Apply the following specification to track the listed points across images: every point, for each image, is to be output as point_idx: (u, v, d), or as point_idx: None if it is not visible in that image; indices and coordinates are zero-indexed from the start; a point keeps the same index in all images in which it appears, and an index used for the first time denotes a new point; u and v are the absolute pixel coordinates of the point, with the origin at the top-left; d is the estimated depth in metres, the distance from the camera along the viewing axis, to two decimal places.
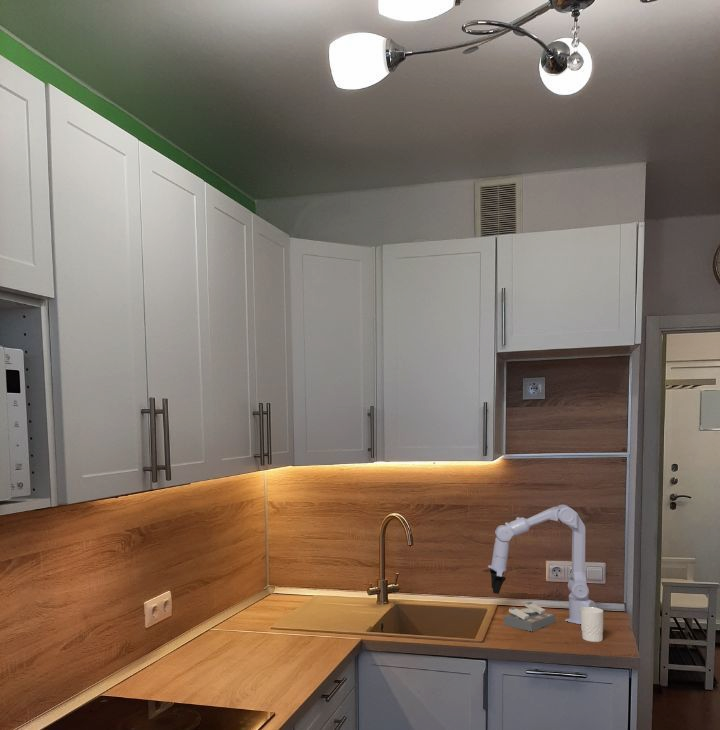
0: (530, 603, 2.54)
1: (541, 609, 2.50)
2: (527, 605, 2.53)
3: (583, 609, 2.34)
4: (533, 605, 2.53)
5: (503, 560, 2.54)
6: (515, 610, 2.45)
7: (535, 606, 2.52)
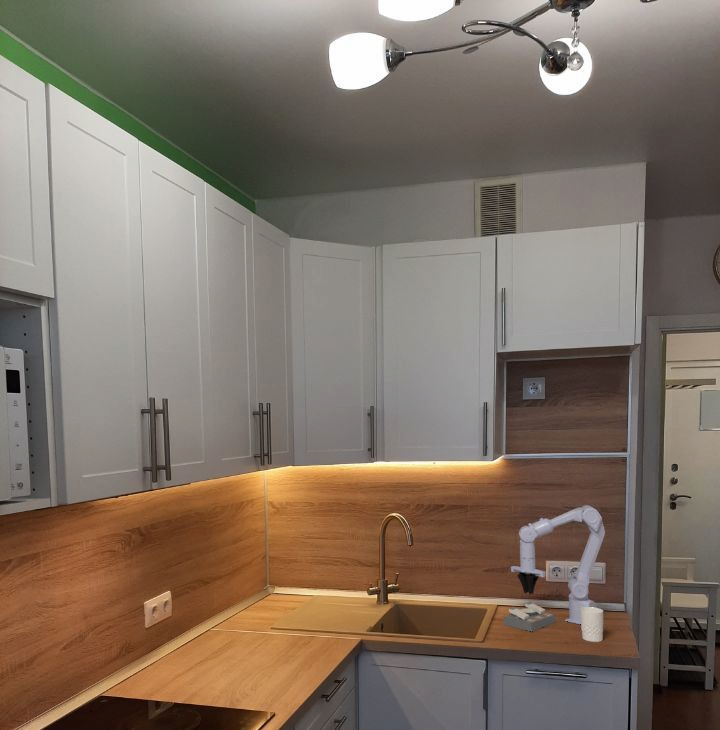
0: (530, 603, 2.54)
1: (541, 609, 2.50)
2: (527, 605, 2.53)
3: (583, 609, 2.34)
4: (533, 605, 2.53)
5: None
6: (515, 610, 2.45)
7: (535, 606, 2.52)
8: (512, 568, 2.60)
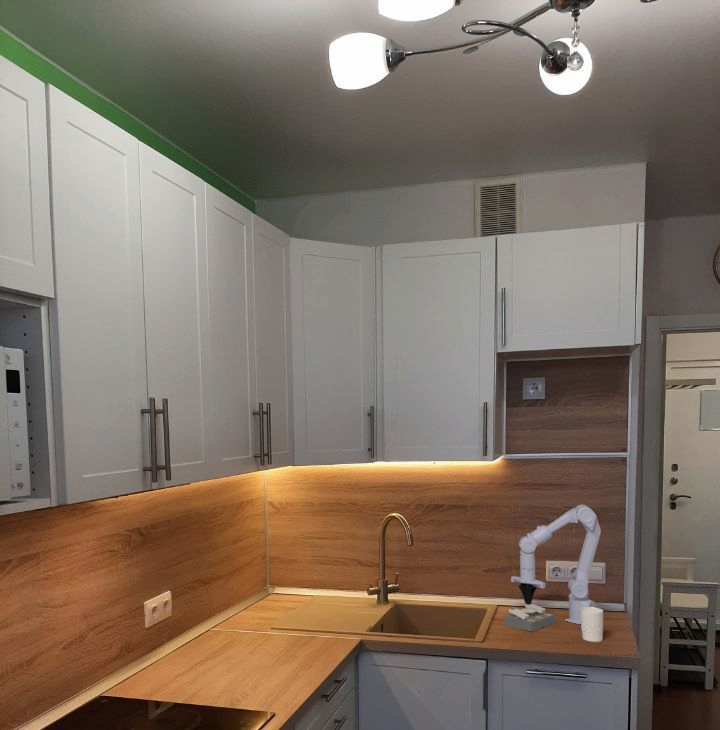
0: None
1: (541, 608, 2.50)
2: (527, 606, 2.53)
3: (583, 609, 2.34)
4: (533, 605, 2.53)
5: None
6: (515, 610, 2.45)
7: (535, 606, 2.52)
8: (512, 578, 2.59)
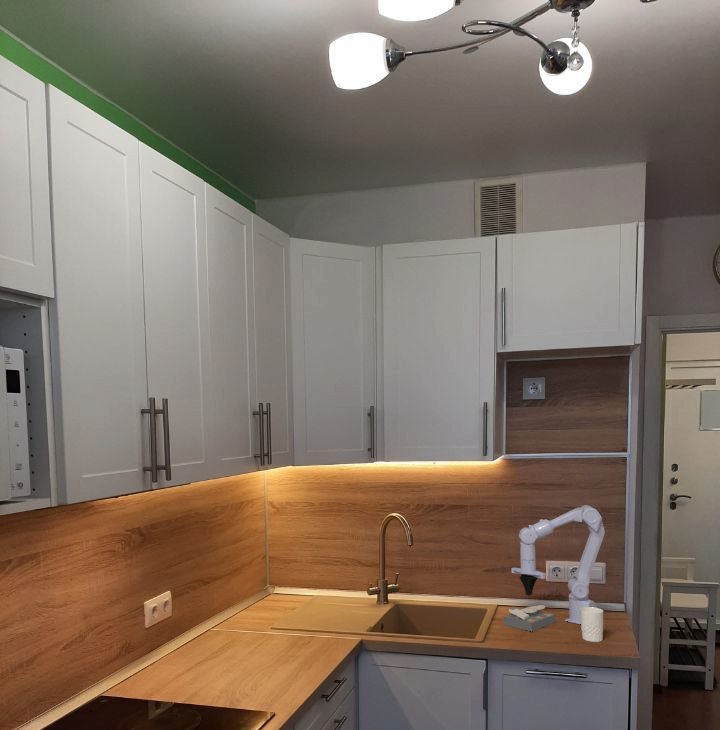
0: (529, 606, 2.54)
1: (540, 605, 2.51)
2: None
3: (583, 609, 2.34)
4: (532, 606, 2.53)
5: (535, 562, 2.54)
6: (515, 610, 2.45)
7: (534, 606, 2.52)
8: (512, 570, 2.59)
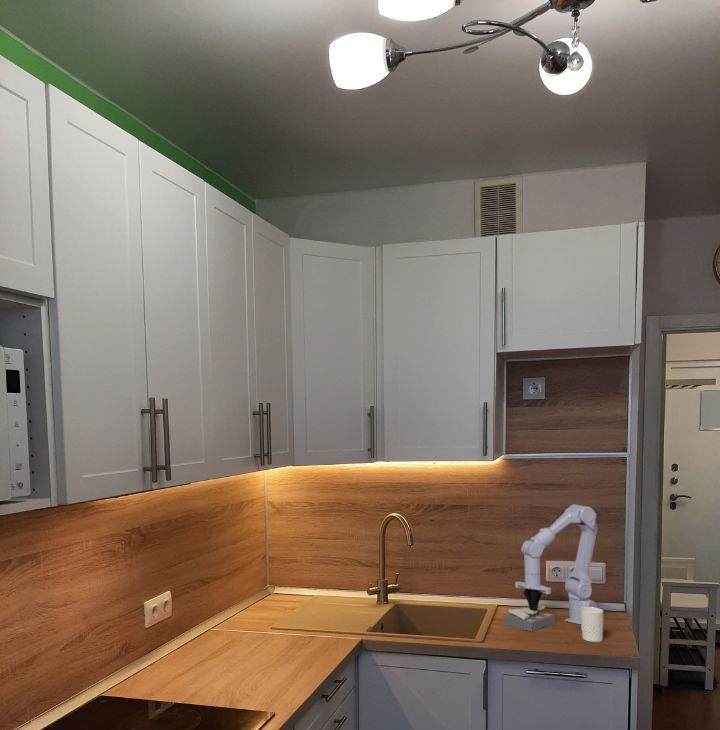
0: None
1: (540, 605, 2.51)
2: None
3: (583, 609, 2.34)
4: None
5: None
6: (515, 610, 2.45)
7: None
8: (516, 584, 2.51)
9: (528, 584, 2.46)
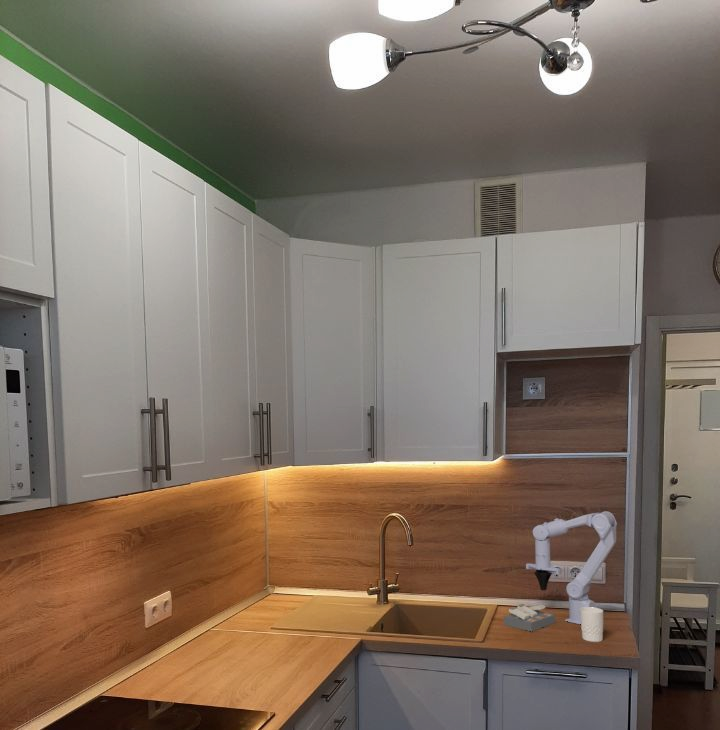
0: (529, 606, 2.54)
1: (540, 605, 2.51)
2: None
3: (583, 609, 2.34)
4: (532, 606, 2.53)
5: None
6: (515, 610, 2.45)
7: (534, 606, 2.52)
8: (527, 565, 2.65)
9: (539, 565, 2.59)
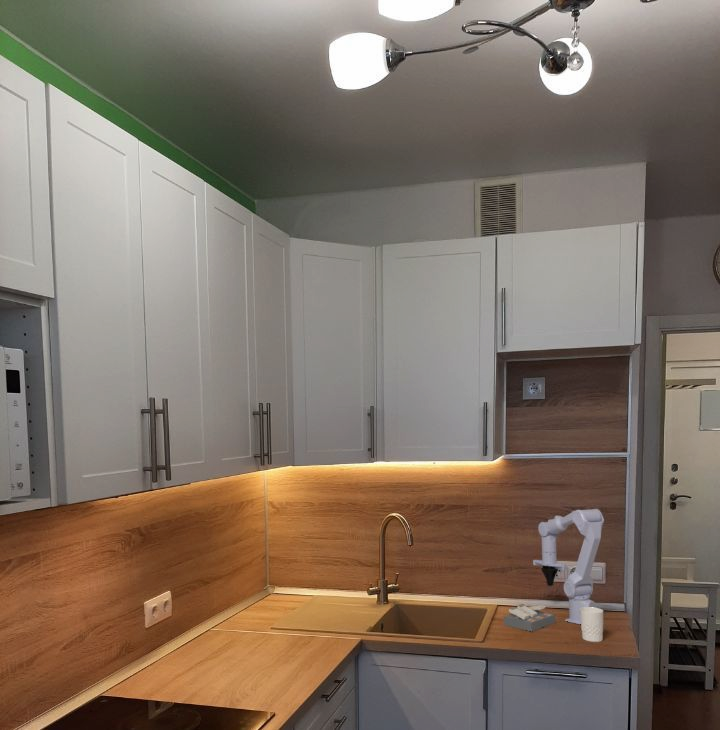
0: (529, 606, 2.54)
1: (540, 605, 2.51)
2: None
3: (583, 609, 2.34)
4: (532, 606, 2.53)
5: None
6: (515, 610, 2.45)
7: (534, 606, 2.52)
8: (534, 562, 2.72)
9: (545, 561, 2.66)
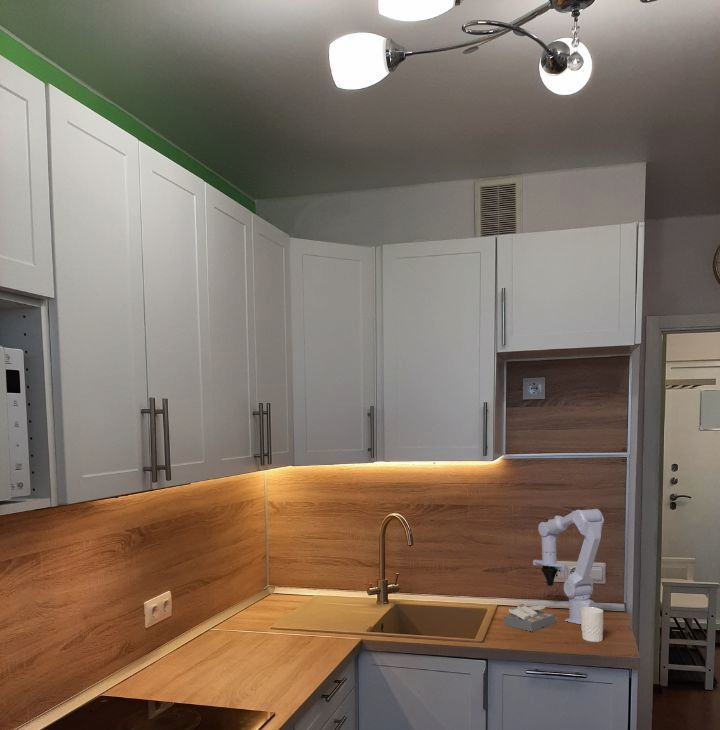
0: (529, 606, 2.54)
1: (540, 605, 2.51)
2: None
3: (583, 609, 2.34)
4: (532, 606, 2.53)
5: None
6: (515, 610, 2.45)
7: (534, 606, 2.52)
8: (534, 562, 2.72)
9: (545, 561, 2.66)
